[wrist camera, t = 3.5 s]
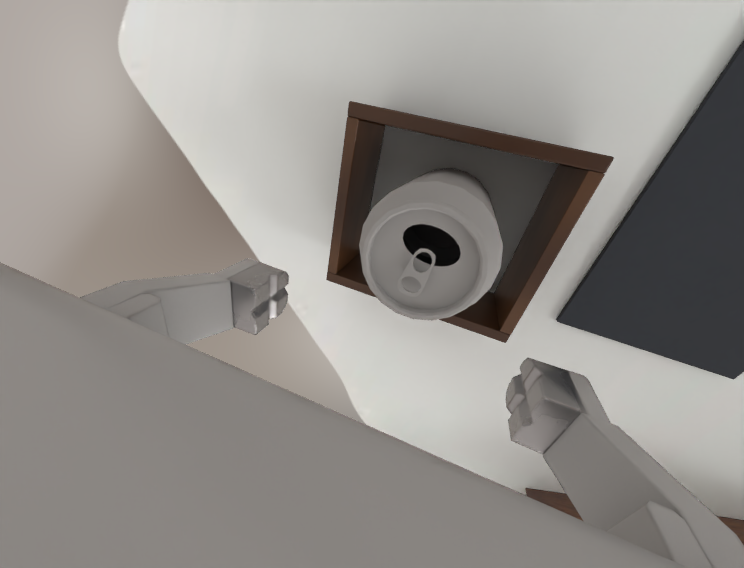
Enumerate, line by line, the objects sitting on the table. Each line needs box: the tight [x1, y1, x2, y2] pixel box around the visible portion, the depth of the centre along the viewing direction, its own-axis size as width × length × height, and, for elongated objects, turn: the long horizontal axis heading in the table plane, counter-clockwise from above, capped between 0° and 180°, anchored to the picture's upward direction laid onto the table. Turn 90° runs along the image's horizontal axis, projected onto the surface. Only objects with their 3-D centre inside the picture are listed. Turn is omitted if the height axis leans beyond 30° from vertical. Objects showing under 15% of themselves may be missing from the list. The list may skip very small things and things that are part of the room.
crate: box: [327, 101, 613, 343], centre depth 21 cm, size 13×15×6 cm
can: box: [359, 168, 503, 320], centre depth 18 cm, size 8×8×12 cm
